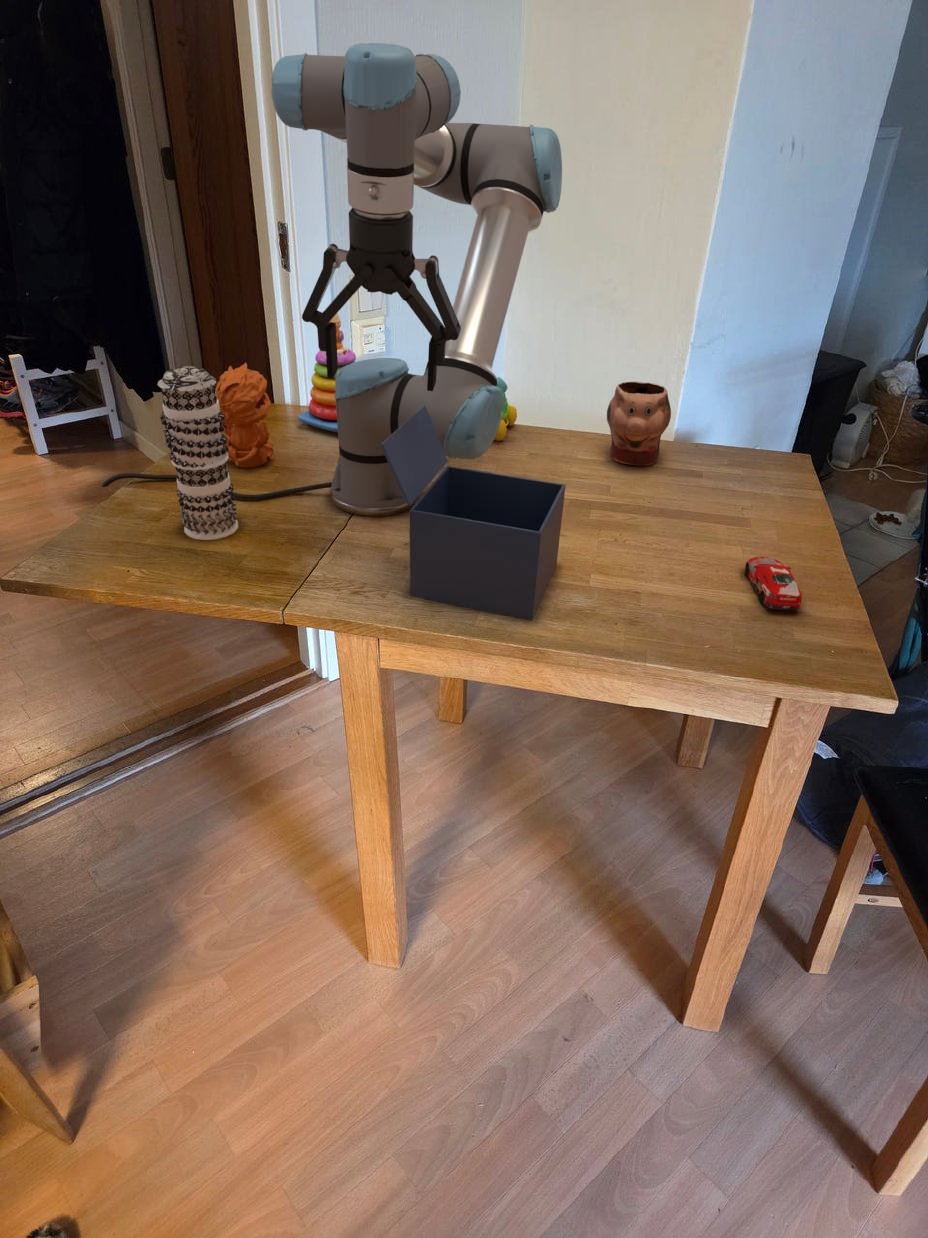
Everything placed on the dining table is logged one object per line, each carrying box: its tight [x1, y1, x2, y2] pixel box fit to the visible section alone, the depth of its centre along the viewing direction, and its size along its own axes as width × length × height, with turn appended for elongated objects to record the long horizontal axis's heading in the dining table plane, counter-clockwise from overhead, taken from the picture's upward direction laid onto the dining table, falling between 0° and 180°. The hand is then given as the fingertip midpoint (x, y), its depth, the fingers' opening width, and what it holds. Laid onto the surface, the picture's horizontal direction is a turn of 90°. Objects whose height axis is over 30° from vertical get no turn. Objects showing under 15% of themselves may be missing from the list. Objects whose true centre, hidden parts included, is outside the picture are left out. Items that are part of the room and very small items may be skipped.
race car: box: [744, 555, 803, 612], centre depth 113 cm, size 13×5×4 cm, turn 177°
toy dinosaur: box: [215, 362, 275, 469], centre depth 143 cm, size 11×11×18 cm
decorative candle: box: [157, 365, 239, 541], centre depth 118 cm, size 9×9×25 cm
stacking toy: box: [298, 313, 357, 433], centre depth 158 cm, size 14×13×23 cm
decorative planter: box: [606, 381, 672, 466], centre depth 152 cm, size 20×12×14 cm, turn 174°
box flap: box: [380, 406, 449, 506], centre depth 107 cm, size 9×16×1 cm
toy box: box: [408, 465, 566, 621], centre depth 111 cm, size 18×16×13 cm
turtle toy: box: [493, 376, 518, 442], centre depth 160 cm, size 17×23×12 cm
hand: (382, 380), depth 105 cm, fingers open, 13 cm apart
